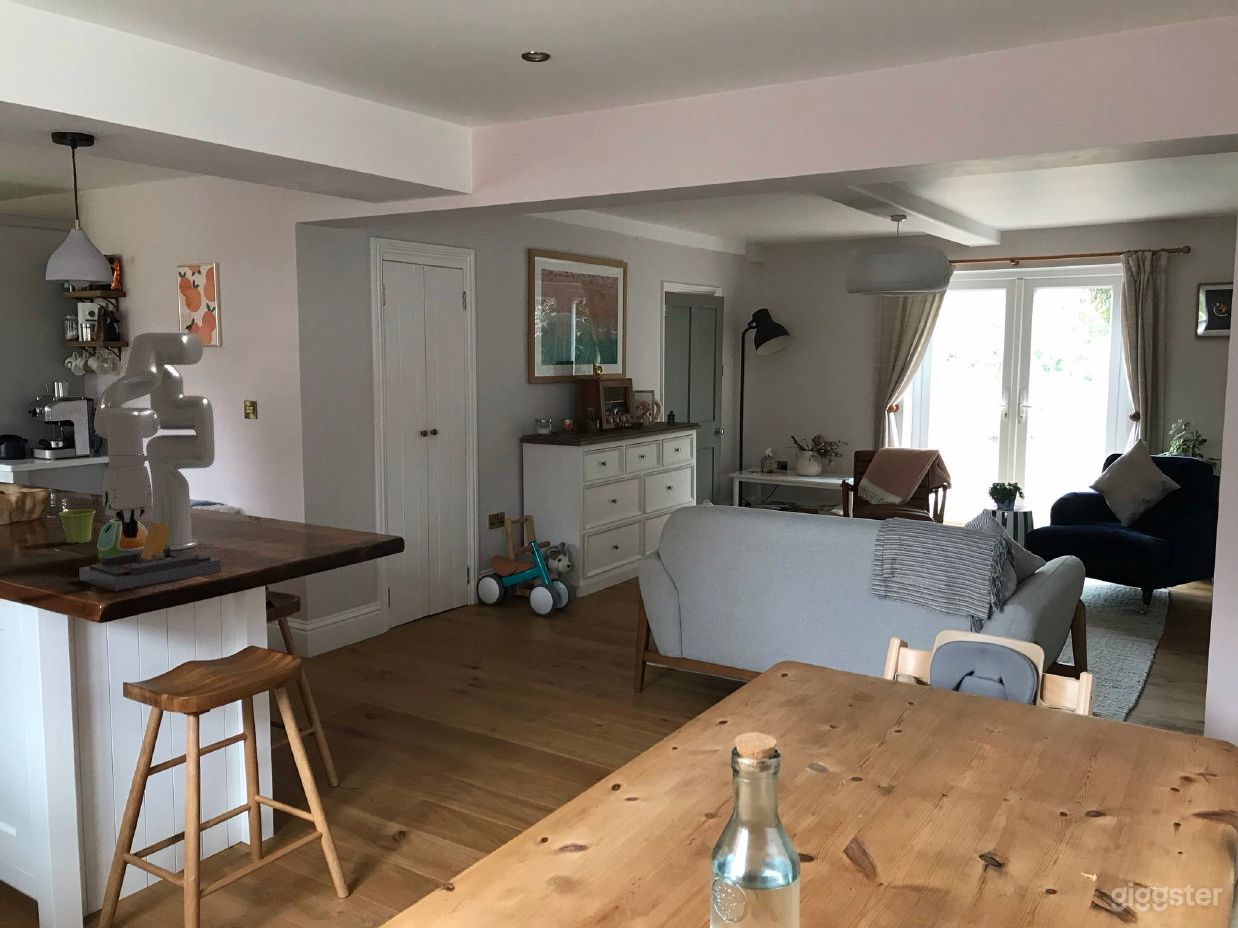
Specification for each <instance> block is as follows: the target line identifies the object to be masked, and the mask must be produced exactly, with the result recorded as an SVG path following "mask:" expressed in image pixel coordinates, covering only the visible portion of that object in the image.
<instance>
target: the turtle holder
mask: <svg viewBox="0 0 1238 928" xmlns="http://www.w3.org/2000/svg"><path fill="white" fill-rule="evenodd" d="M147 535H148V529H147V528H146V527H145V526H144V525H143V524H142V523H141V522H140V520H139V521H138V533H137V538H131V539H129V538H125V537H124V535H123V532H122V521H120V520H119V519H118V518H114V519H113V518H112V519H110V520H109V521H108V522H107V523H106V524H104V525H102V526H101V528H100V531H99V536H98V540H97V545H96V546H97V547H96V548H97V550H98V551H97V552H98V554H97V558H98V559H99V560H100V562H99V563H98V564H102V558H103V556H107V555H113V554H120V553H126V552H132V551H137V550H142V549H143V548H144V545H145V541H146V538H147Z"/></svg>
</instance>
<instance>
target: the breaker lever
mask: <svg viewBox="0 0 1238 928" xmlns="http://www.w3.org/2000/svg"><path fill="white" fill-rule="evenodd" d="M170 527H171V526H167V525H163V524H159V523H154V521H151V522H150V524H149V529H148V530H147V532H148V535H147V538H146V541H145V545H144V548H143V551H142V554H141V558H143V559H146V560H150V561H153V554H158V553H163V550H164V547H165V544H166V540H167V537H168V534H169V530H170Z"/></svg>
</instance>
